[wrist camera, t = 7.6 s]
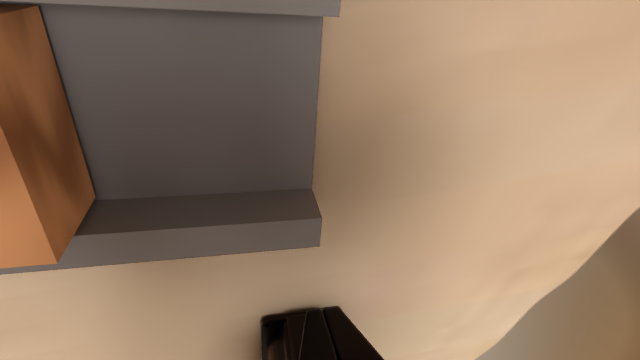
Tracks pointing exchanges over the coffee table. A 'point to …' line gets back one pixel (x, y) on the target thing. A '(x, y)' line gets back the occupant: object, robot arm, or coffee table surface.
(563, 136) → the coffee table surface
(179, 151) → the chute
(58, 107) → the orange block
